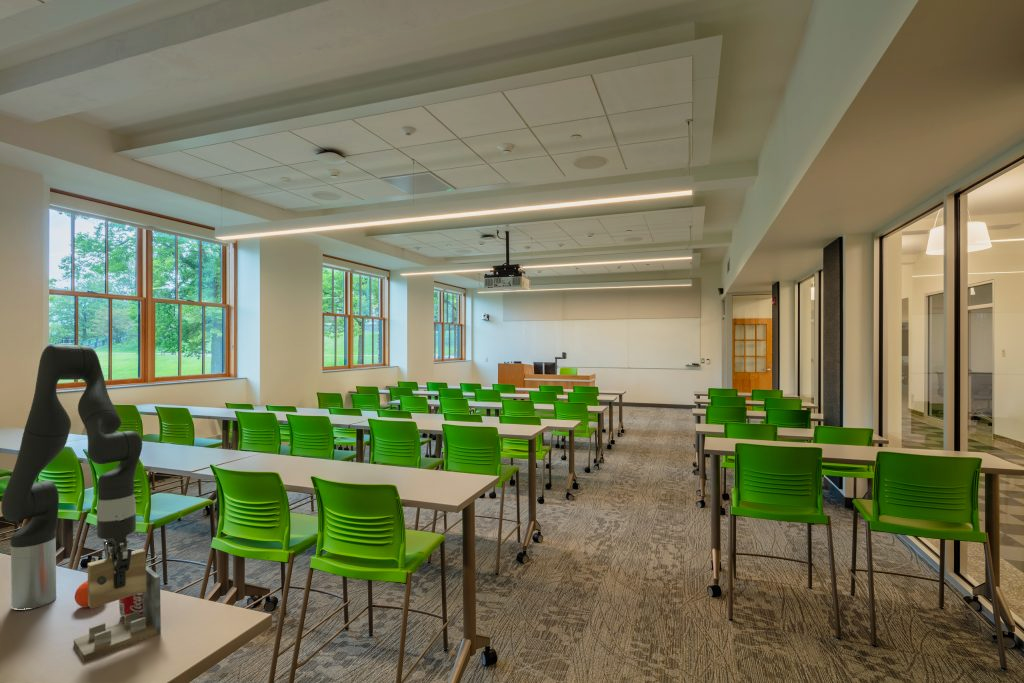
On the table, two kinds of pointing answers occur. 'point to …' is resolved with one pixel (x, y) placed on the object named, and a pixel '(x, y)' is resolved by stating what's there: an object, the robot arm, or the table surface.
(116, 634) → the cabinet base
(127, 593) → the cabinet door
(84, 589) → the clementine
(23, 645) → the table surface
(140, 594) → the soda can
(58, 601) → the table surface
